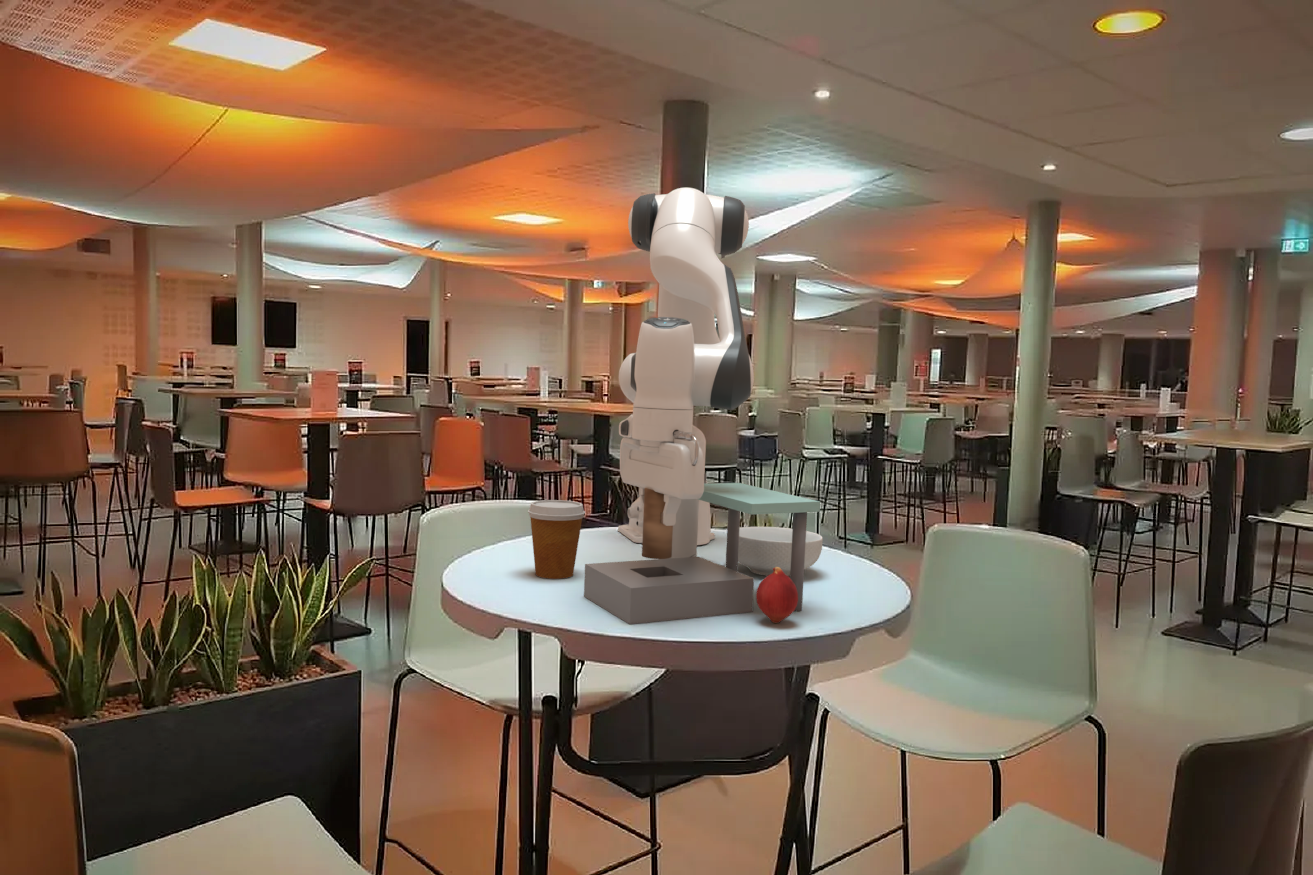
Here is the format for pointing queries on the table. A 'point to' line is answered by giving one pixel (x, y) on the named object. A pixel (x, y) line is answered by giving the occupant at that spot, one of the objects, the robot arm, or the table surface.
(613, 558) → the table surface
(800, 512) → the awning
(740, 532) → the cereal bowl
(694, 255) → the robot arm
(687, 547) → the travel mug
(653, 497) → the walnut peg
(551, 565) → the disposable coffee cup
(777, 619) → the onion
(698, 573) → the socket block
